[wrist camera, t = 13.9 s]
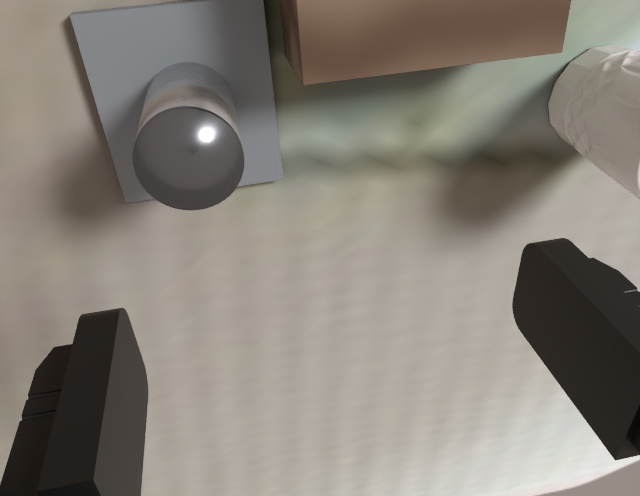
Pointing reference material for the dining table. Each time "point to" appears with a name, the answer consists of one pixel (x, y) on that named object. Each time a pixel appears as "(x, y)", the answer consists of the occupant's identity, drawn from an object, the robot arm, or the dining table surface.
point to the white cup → (602, 111)
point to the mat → (175, 47)
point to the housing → (414, 34)
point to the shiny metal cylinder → (188, 138)
